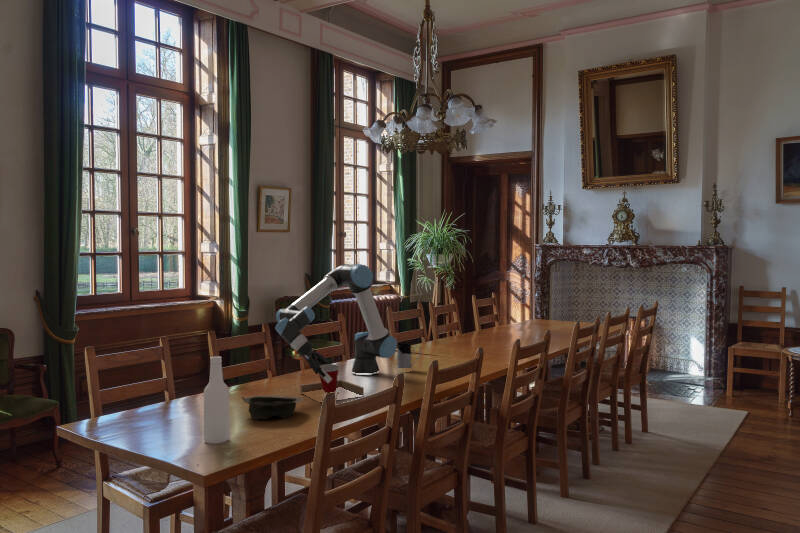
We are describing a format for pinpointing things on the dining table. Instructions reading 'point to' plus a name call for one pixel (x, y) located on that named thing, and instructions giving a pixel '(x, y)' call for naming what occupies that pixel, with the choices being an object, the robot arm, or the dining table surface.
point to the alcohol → (216, 405)
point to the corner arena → (340, 383)
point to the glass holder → (405, 355)
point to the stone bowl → (271, 406)
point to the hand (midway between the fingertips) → (333, 378)
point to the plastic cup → (332, 372)
